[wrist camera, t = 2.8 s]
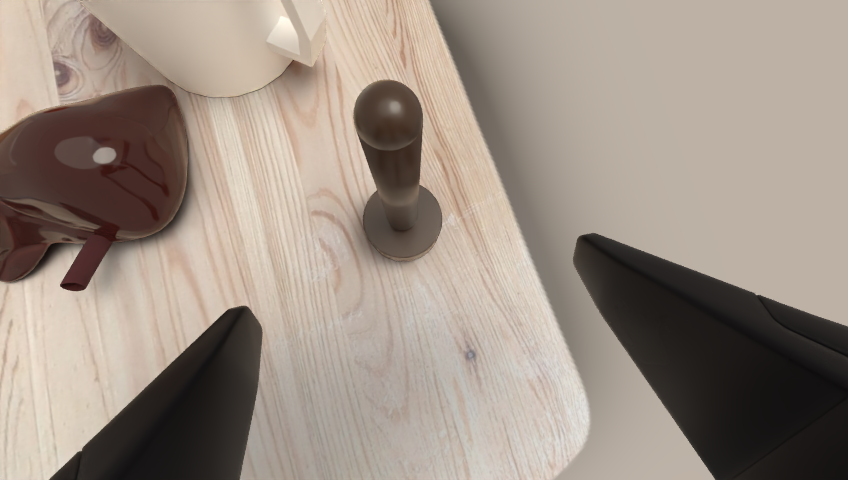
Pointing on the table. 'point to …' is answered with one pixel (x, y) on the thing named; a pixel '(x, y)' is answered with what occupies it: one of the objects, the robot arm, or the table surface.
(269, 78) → the mug
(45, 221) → the liver model
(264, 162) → the table surface
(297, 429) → the table surface
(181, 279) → the table surface
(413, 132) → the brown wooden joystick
